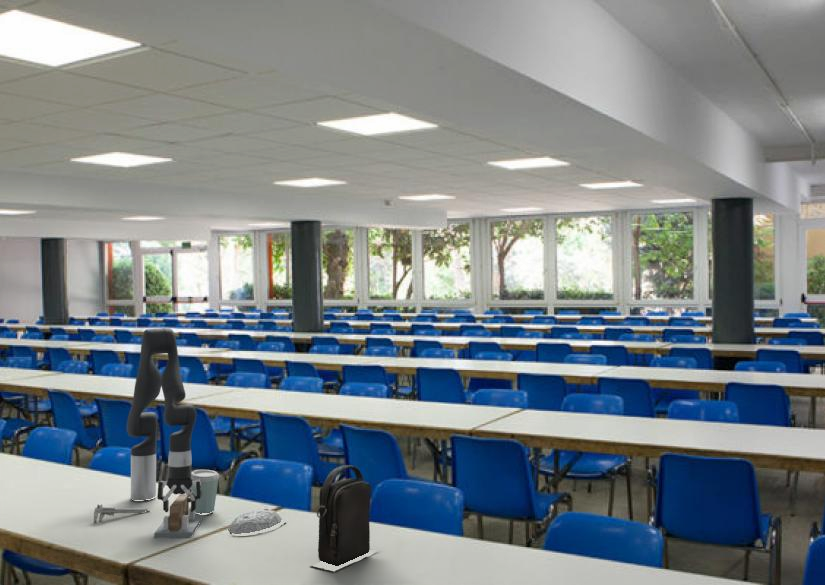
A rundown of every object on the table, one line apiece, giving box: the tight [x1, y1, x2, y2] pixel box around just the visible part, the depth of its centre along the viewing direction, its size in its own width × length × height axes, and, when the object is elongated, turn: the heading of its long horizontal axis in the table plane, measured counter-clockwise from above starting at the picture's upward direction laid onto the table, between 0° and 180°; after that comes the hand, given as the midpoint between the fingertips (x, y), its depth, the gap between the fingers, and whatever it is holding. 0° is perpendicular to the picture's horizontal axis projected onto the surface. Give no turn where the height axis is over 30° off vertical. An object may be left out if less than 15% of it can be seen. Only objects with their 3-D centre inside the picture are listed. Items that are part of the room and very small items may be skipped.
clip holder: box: [153, 506, 204, 539], centre depth 265 cm, size 20×12×6 cm, turn 5°
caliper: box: [93, 503, 149, 523], centre depth 278 cm, size 20×1×6 cm, turn 135°
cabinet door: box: [169, 493, 192, 531], centre depth 265 cm, size 16×4×8 cm, turn 5°
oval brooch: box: [227, 507, 283, 534], centre depth 267 cm, size 16×25×7 cm, turn 147°
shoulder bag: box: [316, 464, 372, 566], centre depth 235 cm, size 23×9×28 cm, turn 146°
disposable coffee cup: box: [190, 469, 220, 514], centre depth 283 cm, size 11×11×15 cm
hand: (179, 511), depth 265 cm, fingers open, 8 cm apart
